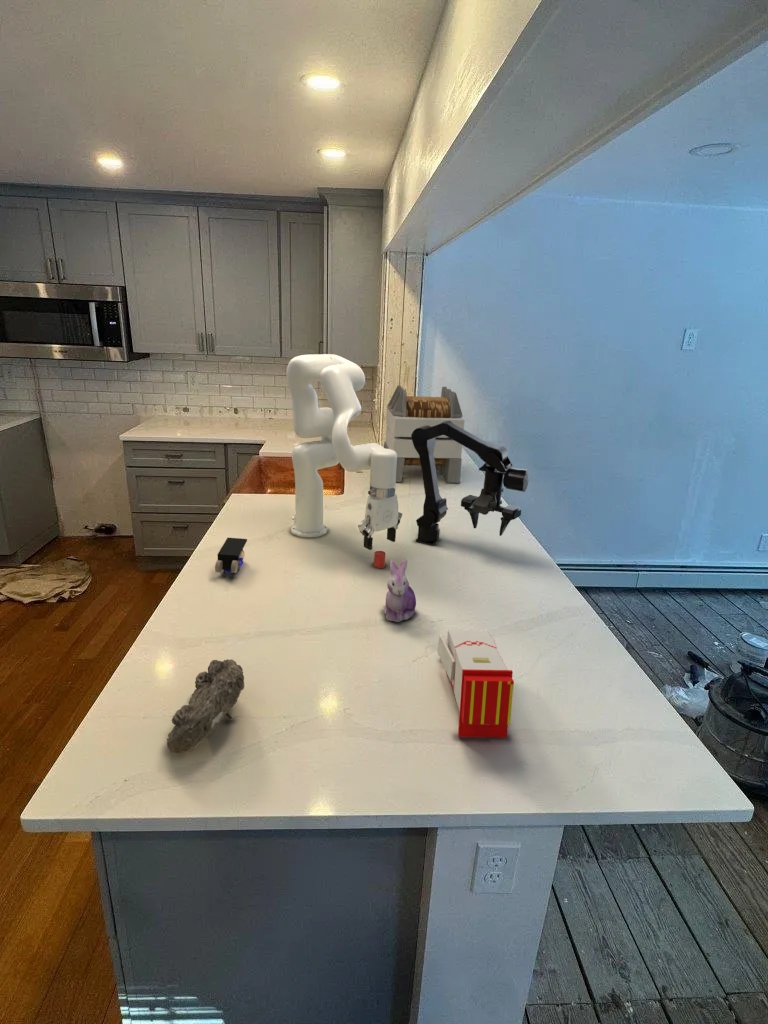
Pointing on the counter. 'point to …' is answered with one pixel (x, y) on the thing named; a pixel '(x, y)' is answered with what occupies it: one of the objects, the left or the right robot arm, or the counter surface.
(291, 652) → the counter surface
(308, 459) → the left robot arm
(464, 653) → the toy
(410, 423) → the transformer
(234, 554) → the figurine character
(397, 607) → the figurine
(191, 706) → the fossil
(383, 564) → the can
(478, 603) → the counter surface
